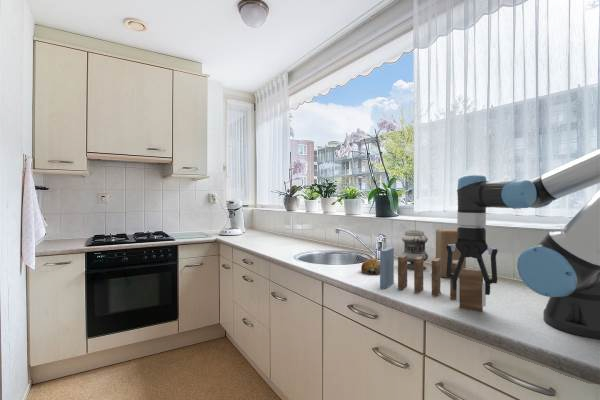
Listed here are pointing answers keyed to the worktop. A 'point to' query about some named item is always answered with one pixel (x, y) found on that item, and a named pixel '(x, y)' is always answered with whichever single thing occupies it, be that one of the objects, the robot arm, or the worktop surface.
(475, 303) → the loose domino
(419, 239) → the grey tall rounded piece
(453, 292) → the domino
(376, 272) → the brown furry rounded lump
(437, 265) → the domino
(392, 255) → the board
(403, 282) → the domino
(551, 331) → the worktop surface
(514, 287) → the worktop surface
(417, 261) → the domino
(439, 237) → the wooden block
